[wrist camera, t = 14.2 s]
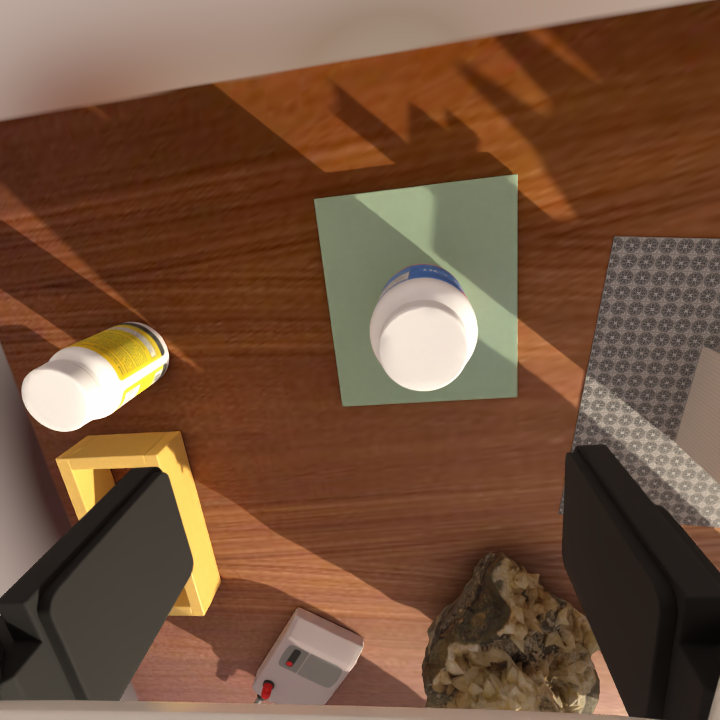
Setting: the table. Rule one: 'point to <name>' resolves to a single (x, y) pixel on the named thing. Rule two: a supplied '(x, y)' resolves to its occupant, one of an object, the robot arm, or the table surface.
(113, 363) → the supplement bottle
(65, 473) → the bottle holder
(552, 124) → the table surface
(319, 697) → the grey electronic device
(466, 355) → the pill bottle
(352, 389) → the mat
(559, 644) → the mineral specimen
